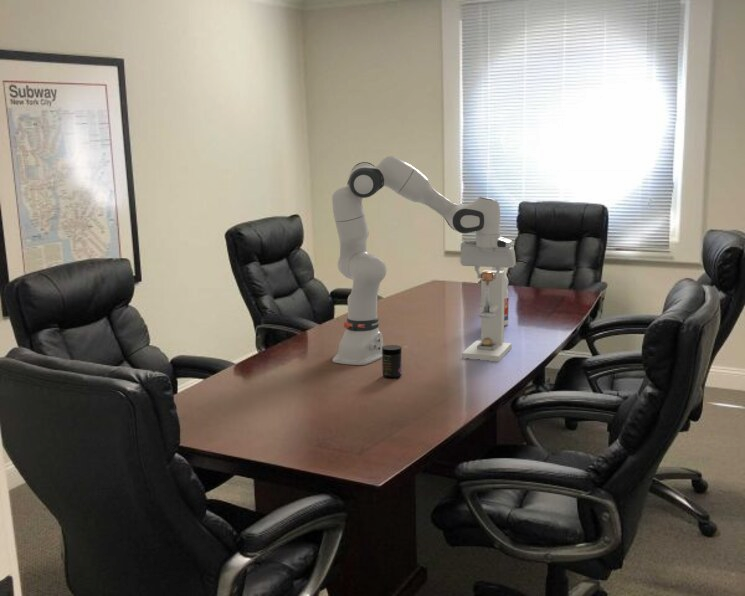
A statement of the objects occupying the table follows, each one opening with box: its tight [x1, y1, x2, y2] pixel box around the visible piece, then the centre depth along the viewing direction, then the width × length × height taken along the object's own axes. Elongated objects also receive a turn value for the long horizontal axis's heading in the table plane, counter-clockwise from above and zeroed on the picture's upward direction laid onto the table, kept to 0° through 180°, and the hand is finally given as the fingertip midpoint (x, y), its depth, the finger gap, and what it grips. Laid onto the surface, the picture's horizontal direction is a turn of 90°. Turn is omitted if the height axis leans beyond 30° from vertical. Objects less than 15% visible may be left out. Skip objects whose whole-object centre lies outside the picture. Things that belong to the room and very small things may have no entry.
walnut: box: [482, 338, 493, 347], centre depth 302 cm, size 4×4×4 cm
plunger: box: [478, 270, 496, 318], centre depth 298 cm, size 6×6×17 cm
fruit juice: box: [491, 267, 510, 327], centre depth 346 cm, size 9×9×28 cm
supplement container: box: [381, 344, 403, 380], centre depth 274 cm, size 7×7×10 cm
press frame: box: [461, 269, 513, 362], centre depth 300 cm, size 20×14×30 cm
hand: (487, 278), depth 297 cm, fingers closed on plunger, 4 cm apart
